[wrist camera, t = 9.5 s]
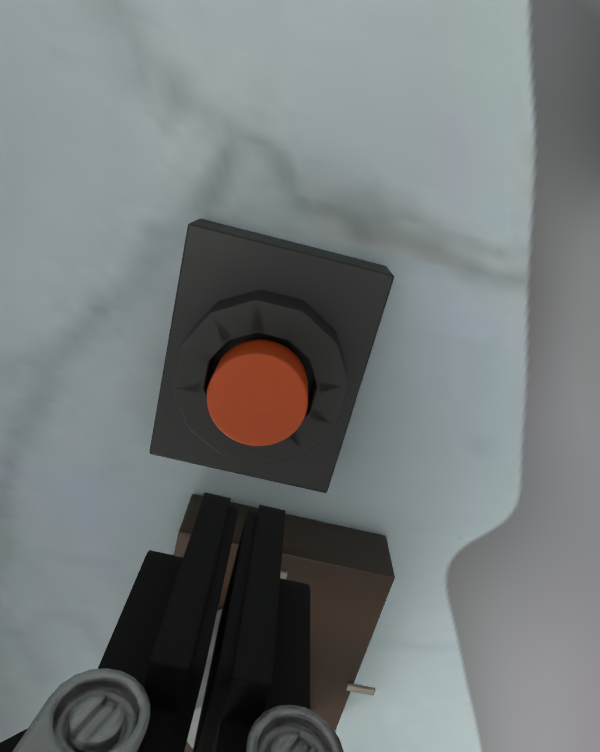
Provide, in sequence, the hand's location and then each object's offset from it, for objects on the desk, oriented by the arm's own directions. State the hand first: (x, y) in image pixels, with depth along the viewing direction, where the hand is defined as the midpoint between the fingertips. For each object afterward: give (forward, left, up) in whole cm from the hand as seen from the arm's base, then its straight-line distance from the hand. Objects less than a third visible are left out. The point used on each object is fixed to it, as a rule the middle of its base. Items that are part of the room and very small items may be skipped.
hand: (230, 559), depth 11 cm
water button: (0, 0, -10) cm, 10 cm away
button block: (0, 0, -14) cm, 14 cm away
